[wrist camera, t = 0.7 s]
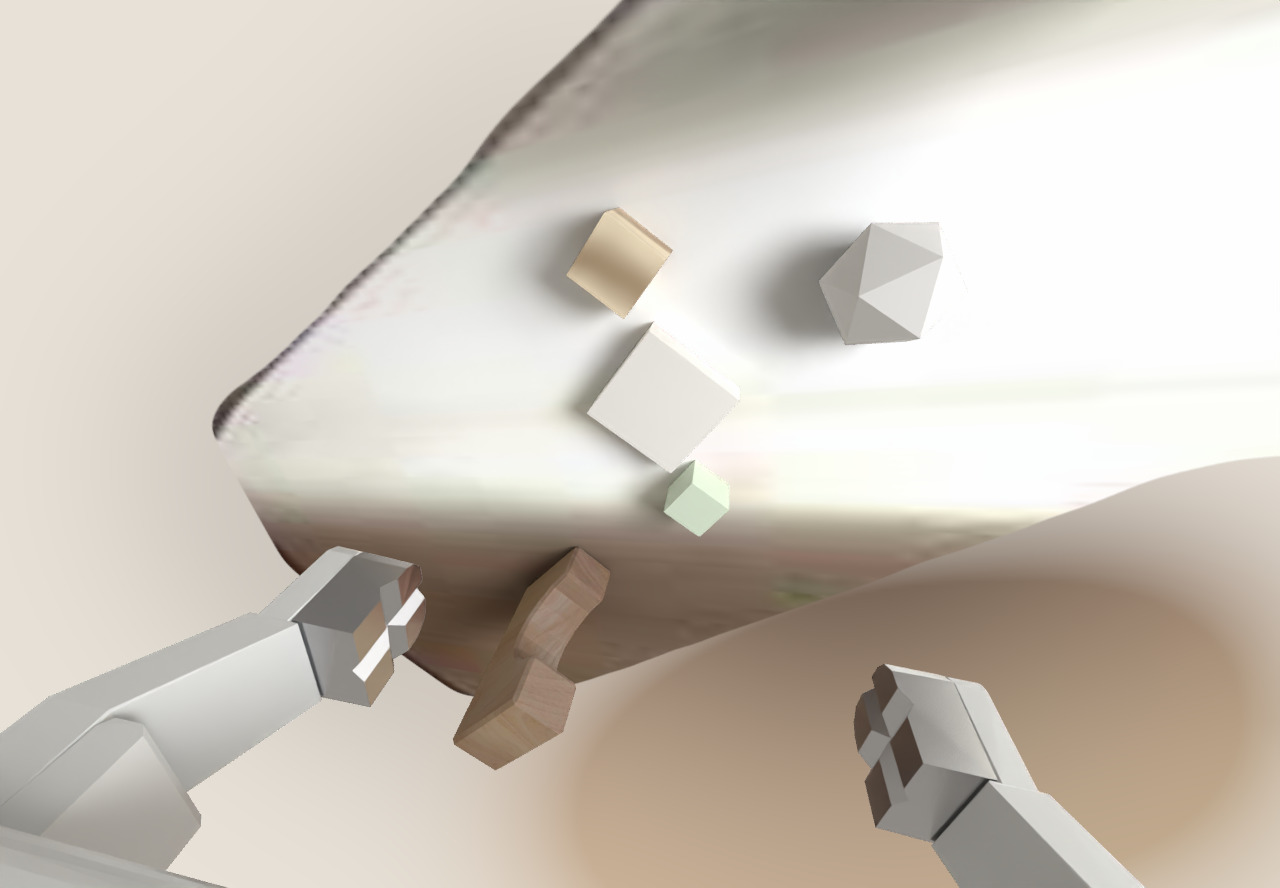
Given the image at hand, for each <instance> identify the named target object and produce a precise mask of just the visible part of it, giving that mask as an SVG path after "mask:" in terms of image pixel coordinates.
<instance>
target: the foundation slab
mask: <svg viewBox="0 0 1280 888" xmlns="http://www.w3.org/2000/svg"><path fill="white" fill-rule="evenodd" d="M739 401H740V388H739V387H738V386H737V385H735V384H734V383H733V382H731V381H730V380H729V379H728V378H726V377H725V376H724V375H722V374H721V373H720V372H718V371H717V370H716V369H715V368H713V367H712V366H711V365H709V364H708V363H707V362H705V361H704V360H703V359H702V358H700V357H699V356H698V355H696V354H695V353H694V352H693V351H691V350H690V349H689V348H687V347H686V346H685V345H683V344H682V343H681V342H680V341H678V340H677V339H676V338H674V337H673V336H672V335H670V334H669V333H668V332H667V331H665V330H664V329H663V328H661V327H660V326H659V325H657V324H656V323H655V322H653V323H652V325H651V326H650V327H649V329H648V330H647V331H646V333H645V334H644V335H643V337H642V338H641V339H640V341H639V342H638V343H637V345H636V346H635V347H634V349H633V350H632V351H631V353H630V354H629V355H628V357H627V358H626V359H625V361H624V362H623V363H622V365H621V366H620V367H619V369H618V370H617V371H616V373H615V374H614V375H613V377H612V378H611V379H610V381H609V382H608V383H607V385H606V386H605V387H604V389H603V390H602V391H601V393H600V394H599V395H598V397H597V398H596V399H595V401H594V402H593V404H592V405H591V407H590V409H589V410H588V412H587V414H588V415H589V416H591V417H592V418H593V419H595V420H596V421H598V422H599V423H600V424H602V425H603V426H605V427H606V428H607V429H609V430H610V431H612V432H613V433H615V434H616V435H617V436H619V437H620V438H622V439H623V440H624V441H626V442H627V443H629V444H630V445H631V446H633V447H634V448H636V449H637V450H638V451H640V452H641V453H643V454H644V455H645V456H647V457H648V458H650V459H651V460H652V461H654V462H655V463H657V464H658V465H659V466H661V467H662V468H664V469H665V470H667V471H668V472H669V473H672V472H673V471H674V470H675V469H676V468H677V467H678V466H679V465H680V464H681V463H682V462H683V461H684V460H685V458H686V457H687V456H688V455H689V454H690V453H691V452H692V451H693V450H694V449H695V448H696V447H697V446H698V445H699V444H700V443H701V442H702V441H703V439H704V438H705V437H706V436H707V435H708V434H709V433H710V432H711V431H712V430H713V429H714V428H715V427H716V426H717V425H718V424H719V423H720V422H721V420H722V419H723V418H724V417H725V416H726V415H727V414H728V413H729V412H730V411H731V410H732V409H733V408H734V407H735V406H736V405H737V404H738V403H739Z"/></svg>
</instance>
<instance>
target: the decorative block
mask: <svg viewBox="0 0 1280 888" xmlns="http://www.w3.org/2000/svg"><path fill="white" fill-rule="evenodd" d="M609 577H610V571H609V570H607V569H606V568H605V567H604V566H602V565H601V564H600V563H598V562H597V561H596V560H595V559H593V558H592V557H591V556H590V555H588V554H587V553H586V552H584V551H583V550H582V549H581V548H579V547H575V548H574V549H573V550H572V551H570V552H569V553H568V554H567V555H566V556H564V557H563V558H562V559H561V560H560V561H559V562H557V563H556V564H555V565H554V566H553V567H551V568H550V569H549V570H548V571H547V572H545V573H544V574H543V575H542V576H541V577H540V578H538V579H537V580H536V581H535V582H534V583H533V584H531V585H530V586H529V587H528V588H527V589H526V591H525V593H524V595H523V597H522V599H521V601H520V603H519V605H518V607H517V609H516V611H515V613H514V616H513V618H512V620H511V622H510V624H509V626H508V628H507V630H506V632H505V634H504V636H503V638H502V640H501V642H500V644H499V646H498V648H497V650H496V652H495V654H494V656H493V658H492V660H491V662H490V664H489V666H488V668H487V671H486V673H485V675H484V677H483V679H482V681H481V683H480V685H479V687H478V689H477V691H476V693H475V695H474V697H473V699H472V701H471V703H470V705H469V707H468V709H467V711H466V713H465V715H464V718H463V719H462V722H461V724H460V725H459V728H458V730H457V732H456V734H455V736H454V738H453V741H454V745H456V746H457V747H459V748H461V749H462V750H464V751H465V752H467V753H469V754H470V755H472V756H473V757H475V758H477V759H478V760H480V761H481V762H483V763H485V764H486V765H488V766H490V767H491V768H493V769H494V770H497V769H499V768H501V767H502V766H504V765H506V764H508V763H510V762H511V761H513V760H515V759H516V758H519V757H520V756H522V755H524V754H526V753H527V752H529V751H531V750H533V749H534V748H536V747H538V746H540V745H541V744H543V743H545V742H547V741H548V740H550V739H552V738H553V737H555V736H557V735H559V734H560V733H562V732H563V730H564V726H565V723H566V720H567V716H568V712H569V710H570V706H571V703H572V700H573V697H574V693H575V690H576V686H575V683H573V682H572V681H571V680H569V679H568V678H566V677H565V676H563V675H562V674H561V673H559V672H558V671H556V670H557V666H558V662H559V660H560V658H561V655H562V653H563V651H564V649H565V646H566V645H567V643H568V642H569V640H570V638H571V637H572V635H573V634H574V632H575V631H576V629H577V628H578V626H579V625H580V624H581V623H582V621H583V620H584V619H585V617H586V616H587V615H588V614H589V612H590V611H592V610H593V609H594V608H595V607H596V606H597V605H598V604H599V603H600V602H601V601H602V600H603V597H604V594H605V590H606V587H607V584H608V580H609Z"/></svg>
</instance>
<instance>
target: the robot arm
mask: <svg viewBox="0 0 1280 888" xmlns="http://www.w3.org/2000/svg"><path fill="white" fill-rule="evenodd" d="M422 580H423V579H422V574H421V568H420V566H418V565H415V564H411V563H407V562H403V561H399V560H395V559H391V558H387V557H383V556H378V555H374V554H370V553H366V552H361V551H356V550H352V549H348V548H343V547H339V546H337V547H335V548H332V549H330V550H328V551H326V552H325V553H324V554H323V555H322V556H321V557H320V558H319V559H318V560H316V561H315V562H314V563H313V564H312V565H311V566H310V567H309V568H308V569H307V570H306V571H305V572H304V573H302V574H301V575H300V576H299V577H298V578H297V579H296V580H295V581H294V582H293V583H292V584H291V585H290V586H288V587H287V588H286V589H285V590H284V591H283V592H282V593H281V594H280V595H279V596H278V597H277V598H276V599H274V600H273V601H272V602H271V603H270V604H269V605H268V606H267V607H266V608H265V609H264V610H263V611H262V612H260V613H259V614H256V613H248V614H245V615H243V616H241V617H238V618H236V619H233V620H231V621H229V622H226V623H224V624H222V625H220V626H217V627H214V628H212V629H210V630H207V631H205V632H202V633H200V634H197V635H195V636H193V637H190V638H188V639H186V640H183V641H181V642H179V643H176V644H174V645H171V646H169V647H166V648H164V649H162V650H159V651H157V652H155V653H152V654H150V655H147V656H145V657H143V658H140V659H138V660H135V661H133V662H131V663H128V664H126V665H123V666H121V667H119V668H116V669H114V670H112V671H109V672H107V673H104V674H102V675H99V676H97V677H95V678H92V679H90V680H88V681H85V682H83V683H80V684H78V685H76V686H73V687H71V688H69V689H66V690H64V691H61V692H59V693H56V694H54V695H52V696H49V697H48V698H46V699H45V700H44V701H43V702H41V703H40V704H38V705H37V706H36V707H35V708H33V709H32V710H31V711H29V712H28V713H27V714H25V715H24V716H23V717H21V718H20V719H19V720H18V721H16V722H15V723H14V724H12V725H11V726H10V727H8V728H7V729H6V730H5V731H3V732H2V733H1V734H0V888H226V887H223V886H219V885H215V884H212V883H208V882H204V881H201V880H197V879H193V878H190V877H186V876H182V875H179V874H175V873H171V872H167V871H166V869H167V868H168V867H169V866H170V864H171V863H172V862H173V861H174V859H175V858H176V857H177V855H178V854H179V853H180V852H181V851H182V849H183V848H184V847H185V845H186V844H187V843H188V841H189V840H190V839H191V838H192V837H193V835H194V834H195V833H196V831H197V830H198V829H199V828H200V826H201V814H200V813H199V811H198V810H197V808H196V807H195V805H194V803H193V802H192V800H191V799H190V797H189V795H188V794H187V791H189V790H190V789H192V788H193V787H195V786H196V785H198V784H199V783H201V782H202V781H204V780H205V779H207V778H208V777H210V776H211V775H212V774H214V773H215V772H217V771H218V770H220V769H221V768H223V767H224V766H226V765H227V764H229V763H230V762H231V761H233V760H235V759H236V758H237V757H239V756H240V755H242V754H243V753H245V752H246V751H248V750H249V749H251V748H252V747H254V746H255V745H257V744H258V743H260V742H261V741H262V740H264V739H265V738H267V737H268V736H270V735H271V734H273V733H274V732H276V731H277V730H279V729H280V728H282V727H283V726H285V725H286V724H287V723H289V722H290V721H292V720H293V719H295V718H296V717H298V716H299V715H301V714H302V713H303V712H305V711H307V710H308V709H310V708H311V707H312V706H314V705H315V704H317V703H318V702H320V701H321V697H324V698H329V699H333V700H338V701H343V702H348V703H353V704H358V705H363V706H367V707H371V705H372V704H373V702H374V701H375V699H376V698H377V696H378V695H379V693H380V692H381V690H382V689H383V688H384V686H385V685H386V683H387V682H388V680H389V679H390V677H391V676H392V674H393V673H394V664H393V659H394V658H396V657H398V656H399V655H401V654H403V653H405V652H406V651H408V650H409V649H410V648H411V646H412V644H413V643H414V641H415V640H416V638H417V637H418V635H419V632H420V629H421V627H422V624H423V622H424V618H425V611H426V604H425V597H424V596H423V595H422V594H421V593H420V592H419V590H418V589H417V587H418V586H419V584H420V583H421V582H422ZM872 679H873V683H874V687H875V688H874V689H871V690H869V691H867V692H865V693H863V694H862V695H861V697H860V700H859V702H858V704H857V706H856V712H855V718H854V730H855V739H856V744H857V749H858V753H859V754H860V755H861V757H862V758H863V759H864V760H865V762H866V763H867V764H868V765H869V767H870V768H871V770H870V772H869V774H868V776H867V778H866V780H865V784H866V789H867V793H868V797H869V802H870V806H871V810H872V814H873V819H874V823H875V827H876V828H879V829H883V830H887V831H890V832H894V833H898V834H902V835H906V836H909V837H913V838H917V839H920V840H924V841H928V842H932V843H933V844H932V845H931V846H932V847H933V849H934V850H935V852H936V853H937V855H938V856H939V858H940V859H941V861H942V862H943V864H944V865H945V866H946V868H947V870H948V871H949V873H950V874H951V876H952V877H953V879H954V880H955V881H956V883H957V884H958V886H959V888H1145V887H1144V886H1143V885H1142V884H1141V883H1140V882H1139V881H1138V880H1137V879H1136V878H1135V877H1134V876H1133V875H1131V874H1130V872H1128V870H1126V869H1125V868H1124V867H1123V866H1122V865H1121V864H1120V863H1119V862H1118V861H1117V860H1116V859H1115V858H1114V857H1113V856H1112V855H1111V854H1110V853H1109V852H1108V851H1107V850H1106V849H1105V848H1104V847H1103V846H1102V845H1101V844H1100V843H1099V842H1098V841H1096V839H1095V838H1094V837H1092V836H1091V835H1090V834H1089V833H1088V832H1087V831H1086V830H1085V829H1084V828H1083V827H1082V826H1081V825H1080V824H1079V823H1078V822H1077V821H1076V820H1075V819H1074V818H1073V817H1072V816H1071V815H1070V814H1069V813H1068V812H1067V811H1066V810H1065V809H1064V808H1063V807H1062V806H1061V805H1060V804H1059V803H1057V801H1055V800H1054V799H1053V798H1052V797H1051V796H1050V795H1049V794H1046V793H1042V792H1039V791H1038V790H1037V788H1036V786H1035V784H1034V782H1033V780H1032V778H1031V776H1030V774H1029V772H1028V771H1027V768H1026V766H1025V764H1024V763H1023V760H1022V758H1021V757H1020V755H1019V753H1018V751H1017V749H1016V747H1015V745H1014V743H1013V741H1012V739H1011V737H1010V735H1009V733H1008V731H1007V729H1006V727H1005V725H1004V723H1003V721H1002V719H1001V718H1000V715H999V713H998V712H997V710H996V708H995V706H994V704H993V702H992V700H991V698H990V696H989V694H988V692H987V691H986V690H985V689H984V688H983V687H982V686H981V685H980V684H979V683H974V682H969V681H964V680H959V679H955V678H950V677H944V676H942V675H937V674H932V673H927V672H922V671H918V670H912V669H907V668H903V667H898V666H892V665H888V664H883V665H881V666H879V667H877V669H876V671H875V672H874V674H873V676H872Z"/></svg>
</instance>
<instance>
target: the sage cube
mask: <svg viewBox="0 0 1280 888" xmlns="http://www.w3.org/2000/svg"><path fill="white" fill-rule="evenodd" d="M728 510H729V484H728V483H727V482H725V481H724V480H722V479H721V478H720V477H718V476H717V475H716V474H714V473H713V472H711V471H710V470H709V469H707V468H706V467H705V466H703V465H702V464H700V463H699V462H698V461H696V460H694V462H693V463H692V464H691V465H690V466H689V467H688V468H687V469H686V470H685V471H684V472H683V473H682V474H681V475H680V476H679V477H678V478H677V479H676V480H675V481H674V482H673V483H672V484H671V485H670V486H669V488H668V493H667V498H666V503H665V508H664V513H666V514H667V515H669V516H670V517H671V518H673V519H674V520H676V521H677V522H679V523H680V524H681V525H683V526H684V527H686V528H687V529H689V530H690V531H692V532H693V533H694V534H696V535H697V536H699V537H700V536H701V535H702V534H703V533H704V532H705V531H706V530H707V529H709V528H710V527H711V526H712V525H713V524H714V523H715V522H716V521H717V520H718V519H720V518H721V517H722V516H723V515H724V514H725V513H726V512H727V511H728Z"/></svg>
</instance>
